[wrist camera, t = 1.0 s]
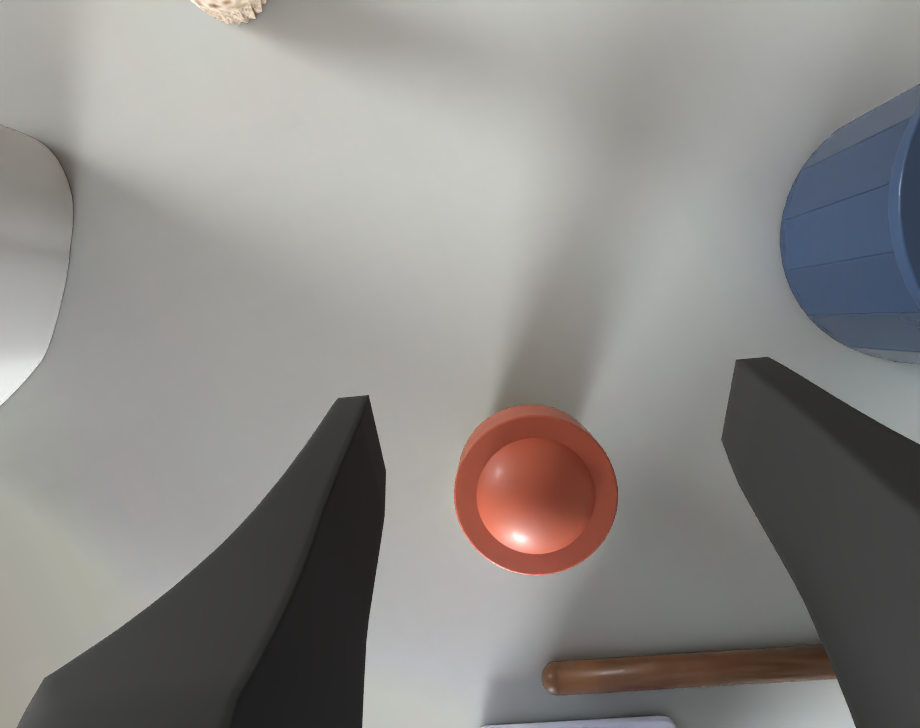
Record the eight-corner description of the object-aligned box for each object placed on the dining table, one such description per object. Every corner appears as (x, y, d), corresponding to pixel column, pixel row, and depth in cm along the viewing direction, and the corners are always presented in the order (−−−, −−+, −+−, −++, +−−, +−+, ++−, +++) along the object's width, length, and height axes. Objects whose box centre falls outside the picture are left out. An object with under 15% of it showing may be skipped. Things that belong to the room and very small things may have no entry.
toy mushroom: (590, 505, 25) (632, 584, 17) (469, 515, 25) (460, 596, 18) (580, 385, 24) (619, 413, 17) (457, 396, 25) (443, 428, 17)
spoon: (992, 580, 24) (1018, 593, 23) (997, 704, 24) (1023, 723, 23) (535, 610, 25) (537, 625, 24) (546, 730, 25) (548, 750, 24)
